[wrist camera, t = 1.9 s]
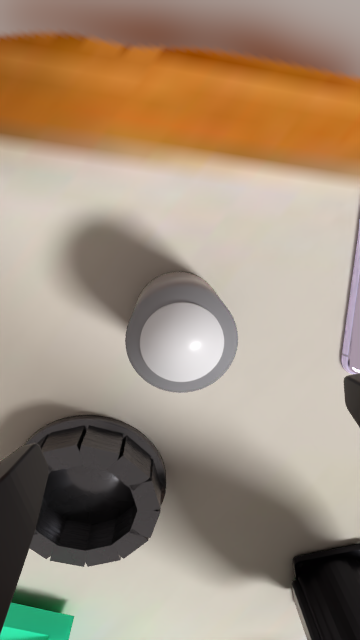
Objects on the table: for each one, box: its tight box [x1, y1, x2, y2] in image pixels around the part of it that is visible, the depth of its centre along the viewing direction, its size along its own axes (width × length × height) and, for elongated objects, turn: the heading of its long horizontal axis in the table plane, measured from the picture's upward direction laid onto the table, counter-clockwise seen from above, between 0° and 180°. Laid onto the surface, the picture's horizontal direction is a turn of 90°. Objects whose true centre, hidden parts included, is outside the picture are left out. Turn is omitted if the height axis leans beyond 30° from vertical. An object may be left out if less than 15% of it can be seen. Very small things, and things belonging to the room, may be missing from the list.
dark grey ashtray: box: [25, 415, 166, 567], centre depth 22 cm, size 11×11×3 cm
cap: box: [125, 272, 238, 393], centre depth 17 cm, size 5×5×5 cm
